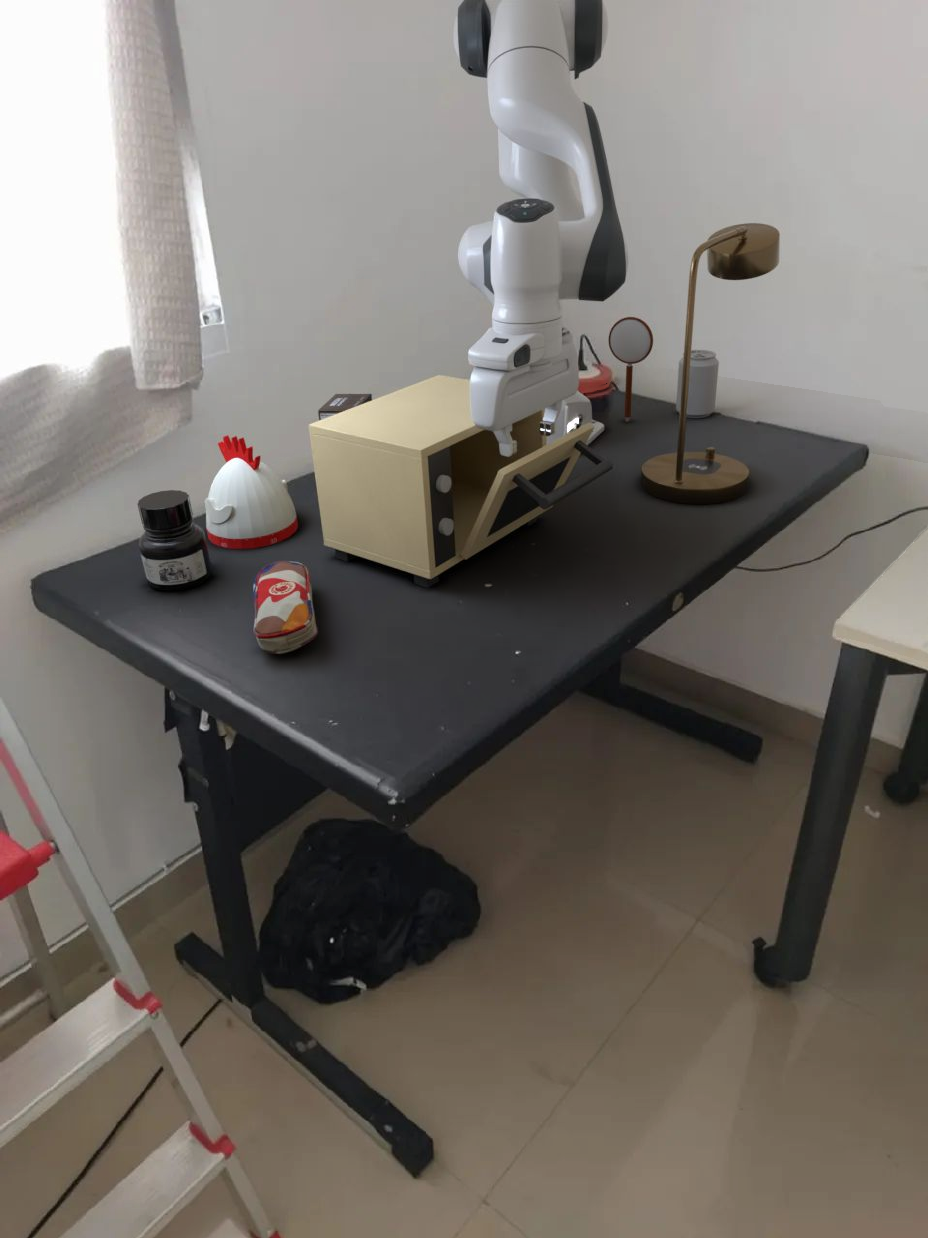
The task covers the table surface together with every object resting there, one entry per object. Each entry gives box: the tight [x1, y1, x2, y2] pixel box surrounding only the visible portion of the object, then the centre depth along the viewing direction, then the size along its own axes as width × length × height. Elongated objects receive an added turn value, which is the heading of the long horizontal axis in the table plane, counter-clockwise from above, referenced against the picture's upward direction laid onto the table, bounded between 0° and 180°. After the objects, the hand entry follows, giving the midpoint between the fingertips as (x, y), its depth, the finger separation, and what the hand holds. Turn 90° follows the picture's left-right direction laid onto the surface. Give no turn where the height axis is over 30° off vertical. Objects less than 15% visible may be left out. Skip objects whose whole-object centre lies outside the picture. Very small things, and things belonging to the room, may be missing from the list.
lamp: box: [640, 222, 781, 505], centre depth 149 cm, size 17×27×38 cm, turn 145°
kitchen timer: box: [204, 434, 299, 550], centre depth 144 cm, size 14×14×15 cm
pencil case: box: [252, 560, 319, 655], centre depth 120 cm, size 11×20×5 cm, turn 177°
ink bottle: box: [136, 489, 212, 592], centre depth 131 cm, size 10×9×12 cm
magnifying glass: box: [608, 316, 654, 423], centre depth 179 cm, size 9×2×20 cm, turn 62°
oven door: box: [461, 423, 614, 560], centre depth 129 cm, size 22×7×15 cm, turn 142°
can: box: [675, 349, 720, 419], centre depth 184 cm, size 8×8×12 cm
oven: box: [308, 374, 547, 589], centre depth 136 cm, size 28×21×20 cm
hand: (528, 444), depth 127 cm, fingers open, 8 cm apart
